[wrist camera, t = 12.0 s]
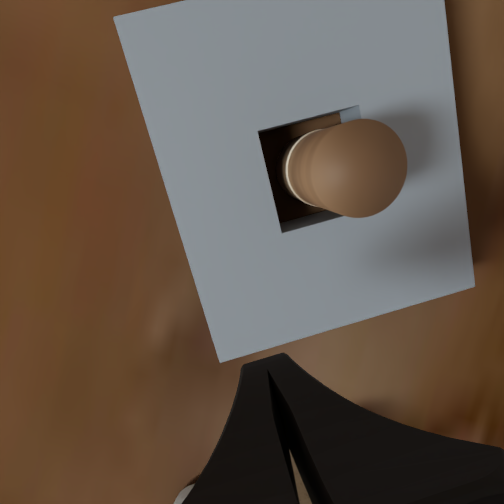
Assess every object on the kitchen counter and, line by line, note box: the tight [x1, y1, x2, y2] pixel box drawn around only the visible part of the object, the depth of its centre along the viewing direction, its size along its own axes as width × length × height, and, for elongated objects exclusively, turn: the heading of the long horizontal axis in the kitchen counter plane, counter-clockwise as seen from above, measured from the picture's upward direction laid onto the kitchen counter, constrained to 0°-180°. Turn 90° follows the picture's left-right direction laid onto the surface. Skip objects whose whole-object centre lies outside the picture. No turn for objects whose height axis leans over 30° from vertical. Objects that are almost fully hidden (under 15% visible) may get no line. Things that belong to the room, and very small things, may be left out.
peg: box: [276, 119, 407, 218], centre depth 17 cm, size 4×4×7 cm
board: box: [113, 0, 475, 363], centre depth 19 cm, size 14×16×2 cm
